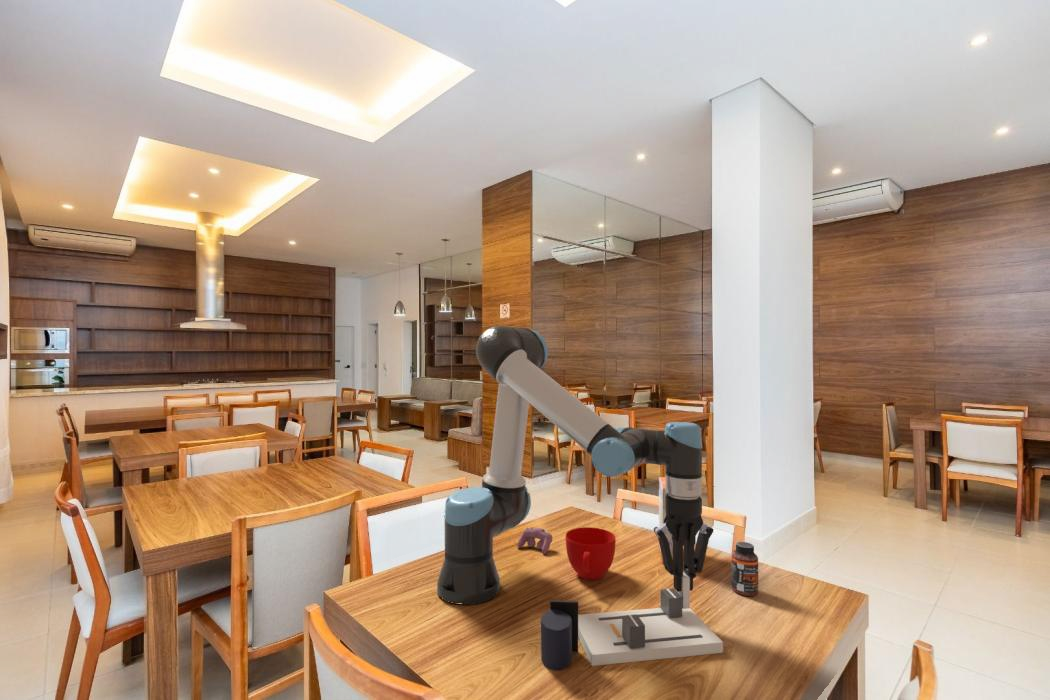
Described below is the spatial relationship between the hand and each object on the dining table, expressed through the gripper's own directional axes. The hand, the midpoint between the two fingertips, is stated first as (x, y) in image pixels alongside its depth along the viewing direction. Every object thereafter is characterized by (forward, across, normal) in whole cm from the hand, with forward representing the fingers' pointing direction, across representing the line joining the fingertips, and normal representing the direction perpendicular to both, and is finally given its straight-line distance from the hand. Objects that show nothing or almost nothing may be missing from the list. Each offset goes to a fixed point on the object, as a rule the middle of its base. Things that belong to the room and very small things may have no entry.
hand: (683, 605), depth 105 cm
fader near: (+1, -15, -9) cm, 18 cm away
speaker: (+4, -29, -9) cm, 31 cm away
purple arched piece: (+4, -24, +44) cm, 50 cm away
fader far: (+1, -3, 0) cm, 3 cm away
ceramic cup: (+4, -14, +23) cm, 27 cm away
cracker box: (+4, +13, +33) cm, 36 cm away
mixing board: (+3, -11, -5) cm, 12 cm away
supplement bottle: (+4, +21, +10) cm, 24 cm away
